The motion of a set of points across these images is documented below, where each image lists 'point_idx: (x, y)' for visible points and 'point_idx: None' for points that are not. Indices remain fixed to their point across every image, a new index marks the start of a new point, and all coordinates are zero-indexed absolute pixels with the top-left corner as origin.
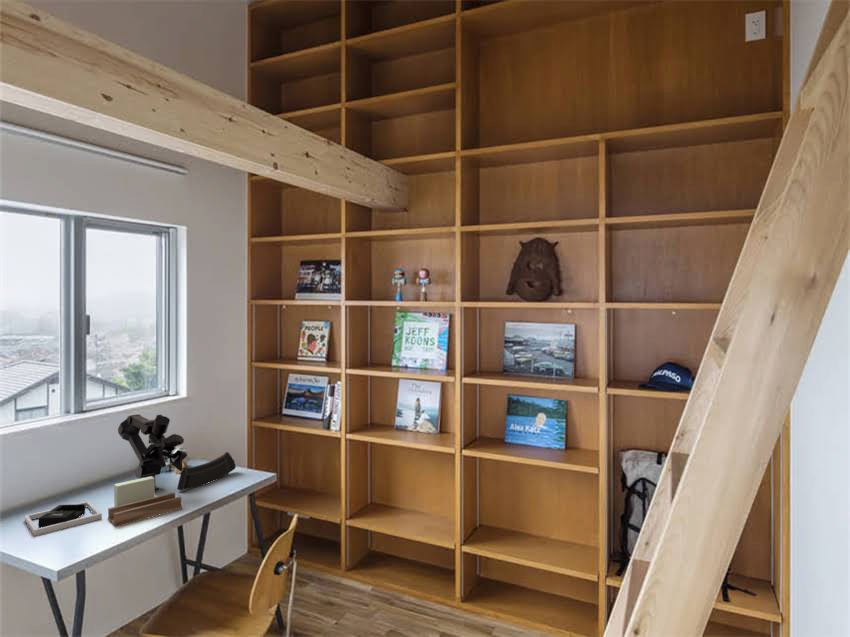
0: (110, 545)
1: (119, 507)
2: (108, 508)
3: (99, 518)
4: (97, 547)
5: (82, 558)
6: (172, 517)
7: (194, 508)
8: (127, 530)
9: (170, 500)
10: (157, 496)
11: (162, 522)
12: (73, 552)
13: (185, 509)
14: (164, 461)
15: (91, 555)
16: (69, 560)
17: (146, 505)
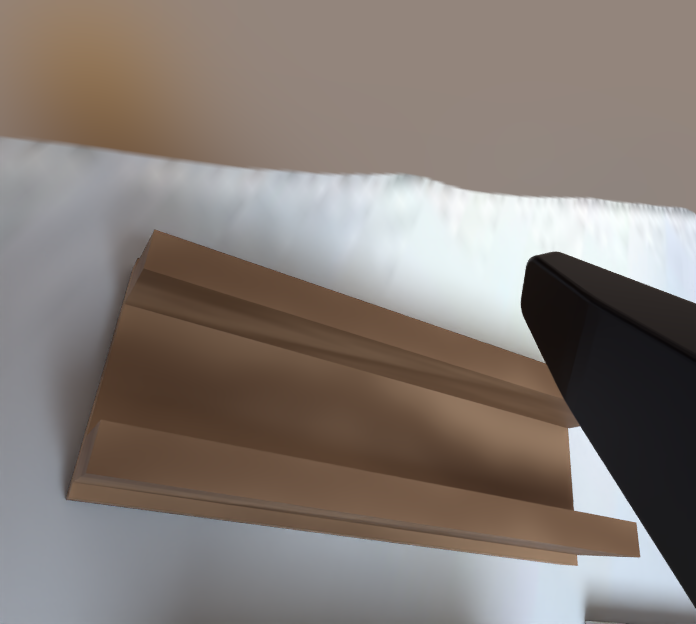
0: (592, 216)
1: (583, 513)
2: (639, 553)
3: (600, 622)
4: (625, 248)
5: (661, 217)
6: (283, 200)
7: (54, 171)
8: (519, 289)
9: (267, 270)
10: (294, 498)
11: (362, 198)
12: (681, 292)
13: (121, 228)
14: (643, 306)
15: (641, 208)
16: (687, 244)
17: (450, 352)
